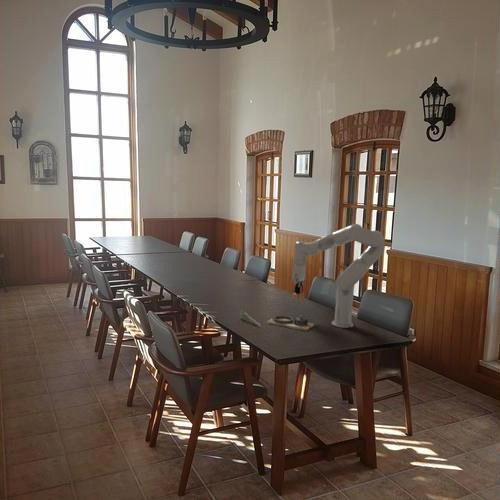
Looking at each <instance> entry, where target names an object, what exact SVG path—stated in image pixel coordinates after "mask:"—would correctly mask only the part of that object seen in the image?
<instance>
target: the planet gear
mask: <svg viewBox="0 0 500 500" xmlns="http://www.w3.org/2000/svg"><path fill="white" fill-rule="evenodd" d="M301 291H302V286H300V293H299V294H298V293H295V292H292V300H293V299H294V300H296V301H297V300H299V301H301V300H304V299H305V293H303V292H301Z"/></svg>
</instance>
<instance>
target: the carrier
mask: <svg viewBox="0 0 500 500" xmlns="http://www.w3.org/2000/svg"><path fill="white" fill-rule="evenodd" d="M266 324H269V325H274V326H279V327H284V328H288V329H293V330H298V331H302V332H303V331H304V332H307V331H309V330H310V329H311V328H313V327H315V325H316V323H315V322H311V321H310V322H309V320H308V318H306V317H303V315H302V314H301V315H299V316H297V317H294V318H293V317H292V316H288V315H275V316H273V317H272V318H271V319H269V320H267V321H266Z"/></svg>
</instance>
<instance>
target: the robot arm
mask: <svg viewBox="0 0 500 500" xmlns="http://www.w3.org/2000/svg"><path fill="white" fill-rule="evenodd" d="M350 242H356V243H359V244H362V245H365V246H368V247H366V249H364V251H363V252H362V254H360V255H359V256H358V257H357V258H356V259H354V260H353V261H352V262H351V263H350V264H349V265H348V266H347V267H346V269H344V271H342V272H341V273H339V274H338V276H337V278H335V279H336V280H335V285H336V287H337V288H336V295H335V296H336V297H335V298H336V299H335V310H334V320H332V321H331V324H332V326H335V327H337V328H344V329H345V328H346V329H348V328H349V327H350V328H353V327H354V326H355V325H354V323H353V322H352V317H353V316H352V315H353V304H354V303H353V302H354V294H355V285H356V284H357V283H358V282H359V281H360V280H361V279H362V278H363V277H364V276H365V275H366V274H367V272H368V270H369V269H370V268H371V267H372V266H373V265H374V264H375V263H376V262H377V261H378V260H379V258H381V256H382V255H383V253H384V250H385V246H386V244H385V243H386V242H385V238H384V234H383V233H382V232H381V231H379V230H371V229H369V228H365V227H363V226H362V225H361V224H358V223H353V224H350V225H348V226H345V227H343V228H341V229H338V230H335V231H334V232H331V233H330V234H328V235H325V236H323V237H320V238H319V239H315V240H314V241H312V242H307V241H303V240H298V241H295V243H294V256H293V269H292V277H291V280H292V282H293V284H294V293H298V294H299V293H300V286H302V291H301V293H303V291H304V281H305V280H306V277H307V276H306V271H307V269H306V268H307V267H306V266H307V265H308V262H307V261H308V255H309V256H317V255H318V254H320V253H322V252H324V251H327V250H329V249H331V248H332V249H333V248H336V247H340V246H343V245H345V244H348V243H350Z"/></svg>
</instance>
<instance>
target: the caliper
mask: <svg viewBox="0 0 500 500" xmlns="http://www.w3.org/2000/svg"><path fill="white" fill-rule="evenodd" d="M239 319H240V320H244V319H245V320H248V321H250V322H251V323H253V324H254V325H255V326H257V327H258V328H263V326H262V324H261V323H259V322H257V321H256V320H255V319H254V318H252V317H251V316H250V315H249V314H248V313H247V312H245V309H243V308H242V309H240V313H239Z"/></svg>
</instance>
